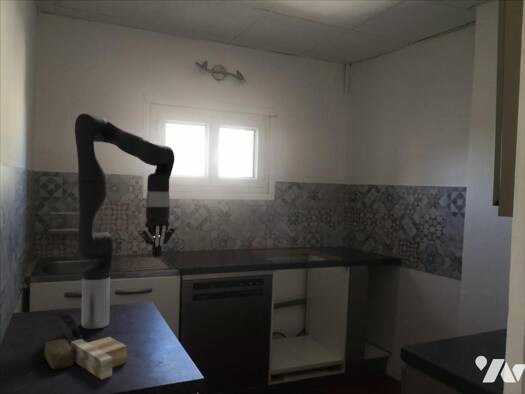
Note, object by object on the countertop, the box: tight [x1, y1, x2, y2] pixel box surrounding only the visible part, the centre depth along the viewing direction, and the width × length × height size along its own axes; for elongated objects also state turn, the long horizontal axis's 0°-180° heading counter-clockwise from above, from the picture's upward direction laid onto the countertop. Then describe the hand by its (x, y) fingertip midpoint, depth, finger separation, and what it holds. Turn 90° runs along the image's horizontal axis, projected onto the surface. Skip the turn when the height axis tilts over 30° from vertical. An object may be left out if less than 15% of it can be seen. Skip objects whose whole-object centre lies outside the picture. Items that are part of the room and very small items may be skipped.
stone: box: [54, 309, 85, 345], centre depth 128 cm, size 14×6×10 cm, turn 66°
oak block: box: [88, 336, 128, 368], centre depth 117 cm, size 10×7×5 cm
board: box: [70, 339, 113, 380], centre depth 113 cm, size 18×3×5 cm, turn 49°
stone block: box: [43, 338, 75, 370], centre depth 116 cm, size 6×12×5 cm, turn 39°
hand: (156, 257), depth 135 cm, fingers closed
